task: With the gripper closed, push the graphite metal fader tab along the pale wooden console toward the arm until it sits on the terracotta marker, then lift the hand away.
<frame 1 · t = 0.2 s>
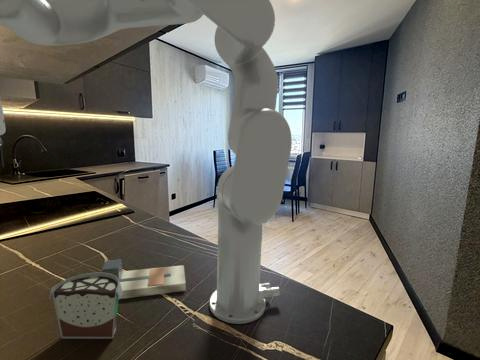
fader console: (139, 285, 63), on the counter
fader tab: (112, 271, 61), point 5 cm above the counter, slide at 10.0 cm
food container: (96, 327, 50), on the counter
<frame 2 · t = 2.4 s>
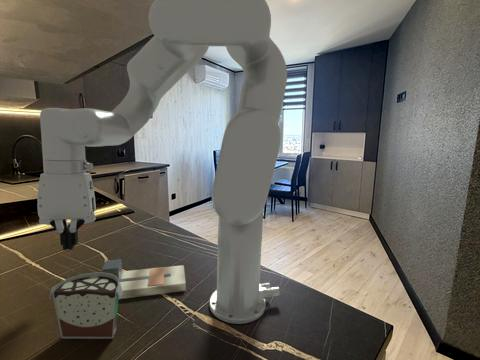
hand: (69, 247, 58), 11 cm above the counter, tool pointing down, fingers closed
nothing on the counter moved.
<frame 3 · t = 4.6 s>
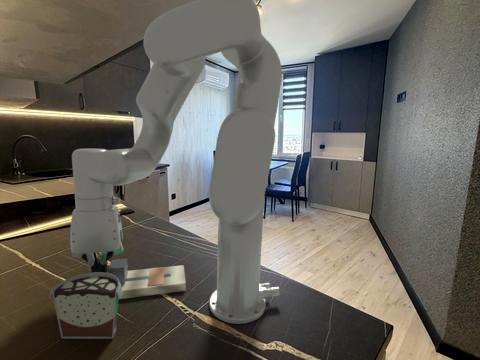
hand: (99, 277, 60), 3 cm above the counter, tool pointing down, fingers closed
fader tab: (118, 271, 61), point 4 cm above the counter, slide at 8.7 cm, touching gripper
everything else where it was.
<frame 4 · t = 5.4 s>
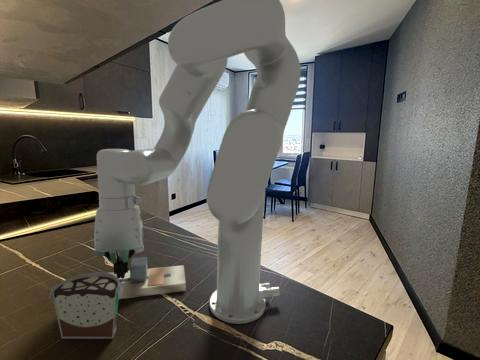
hand: (121, 275, 61), 3 cm above the counter, tool pointing down, fingers closed
fader tab: (139, 269, 62), point 4 cm above the counter, slide at 4.0 cm, touching gripper
everything else where it was.
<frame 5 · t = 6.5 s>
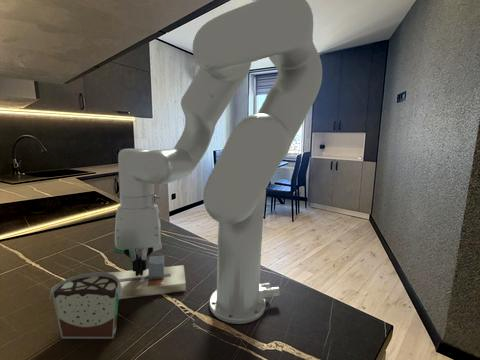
hand: (139, 272, 63), 3 cm above the counter, tool pointing down, fingers closed
fader tab: (156, 267, 64), point 4 cm above the counter, slide at -0.1 cm, touching gripper
everything else where it was.
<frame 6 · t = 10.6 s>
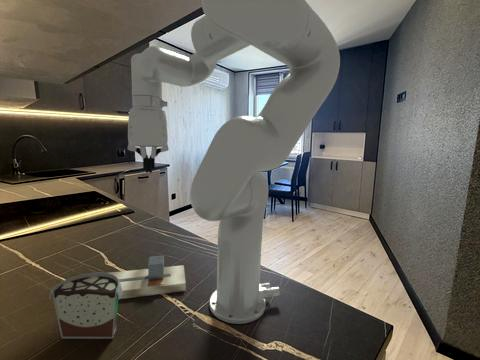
hand: (149, 171, 71), 27 cm above the counter, tool pointing down, fingers closed
fader tab: (156, 267, 63), point 5 cm above the counter, slide at -0.1 cm
everything else where it was.
at the end: fader tab slide at -0.1 cm; food container moved 0.2 cm from its start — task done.
